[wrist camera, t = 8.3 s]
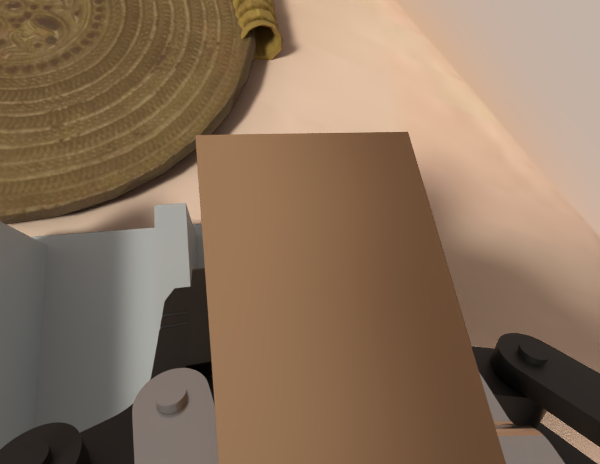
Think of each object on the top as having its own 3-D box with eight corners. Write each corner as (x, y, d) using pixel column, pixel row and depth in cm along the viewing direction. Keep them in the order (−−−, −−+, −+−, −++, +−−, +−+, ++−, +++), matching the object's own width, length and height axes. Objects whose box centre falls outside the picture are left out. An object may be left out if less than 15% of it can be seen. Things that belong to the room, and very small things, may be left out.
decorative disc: (-308, -186, 18) (216, -166, 25) (-227, -110, 21) (219, -111, 29) (-418, 300, 11) (341, 140, 19) (-275, 307, 15) (327, 168, 22)
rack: (-12, 567, 12) (-179, 725, 7) (20, 247, 16) (-77, 205, 11) (364, 462, 16) (425, 518, 11) (321, 223, 20) (352, 183, 15)
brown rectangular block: (235, 456, 12) (247, 857, 3) (219, 271, 14) (195, 135, 5) (324, 433, 13) (570, 681, 3) (297, 263, 15) (408, 132, 6)
